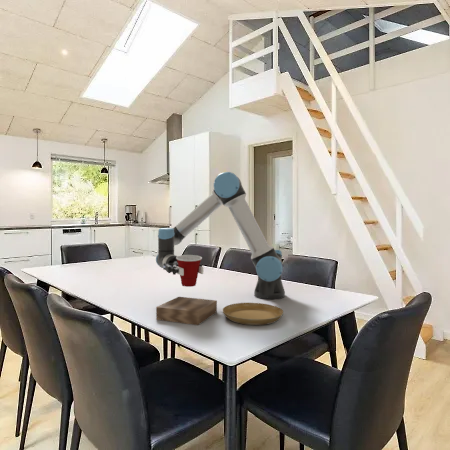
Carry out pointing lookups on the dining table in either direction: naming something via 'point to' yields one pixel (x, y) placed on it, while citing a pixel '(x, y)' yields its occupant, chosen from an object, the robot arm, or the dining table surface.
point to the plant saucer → (252, 313)
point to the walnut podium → (186, 310)
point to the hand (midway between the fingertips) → (192, 271)
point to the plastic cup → (189, 269)
